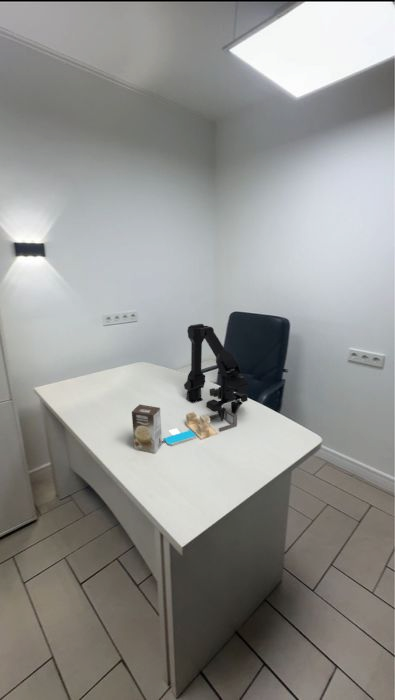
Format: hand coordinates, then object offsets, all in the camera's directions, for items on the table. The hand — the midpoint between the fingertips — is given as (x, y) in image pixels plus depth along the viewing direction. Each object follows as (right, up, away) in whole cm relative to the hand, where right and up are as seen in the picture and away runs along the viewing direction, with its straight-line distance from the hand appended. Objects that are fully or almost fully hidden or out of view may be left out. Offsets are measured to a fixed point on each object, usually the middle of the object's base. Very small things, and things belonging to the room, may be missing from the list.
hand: (227, 418), depth 136 cm
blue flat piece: (-21, -5, -10) cm, 24 cm away
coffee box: (-32, -7, -17) cm, 37 cm away
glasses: (-3, -2, -1) cm, 4 cm away
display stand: (-12, -3, -6) cm, 14 cm away
